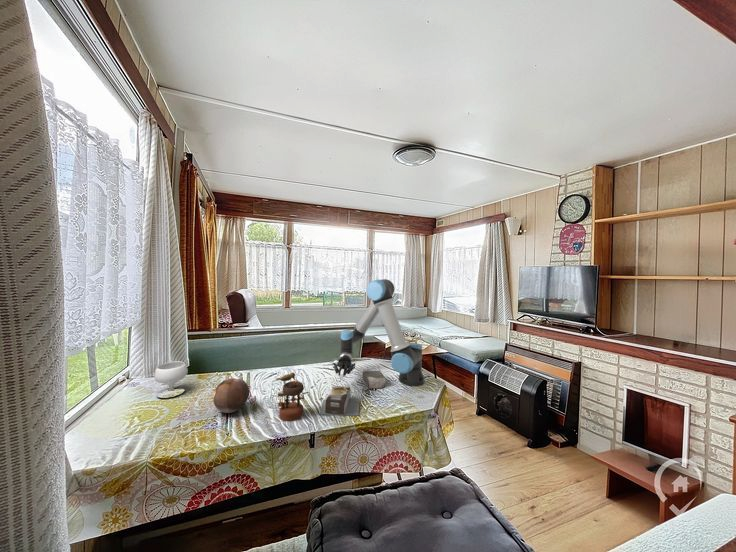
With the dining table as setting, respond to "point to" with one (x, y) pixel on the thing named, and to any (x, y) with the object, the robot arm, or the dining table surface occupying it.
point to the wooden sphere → (231, 395)
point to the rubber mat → (350, 410)
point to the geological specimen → (374, 379)
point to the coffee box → (337, 400)
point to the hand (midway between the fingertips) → (341, 376)
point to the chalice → (171, 373)
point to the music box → (291, 409)
